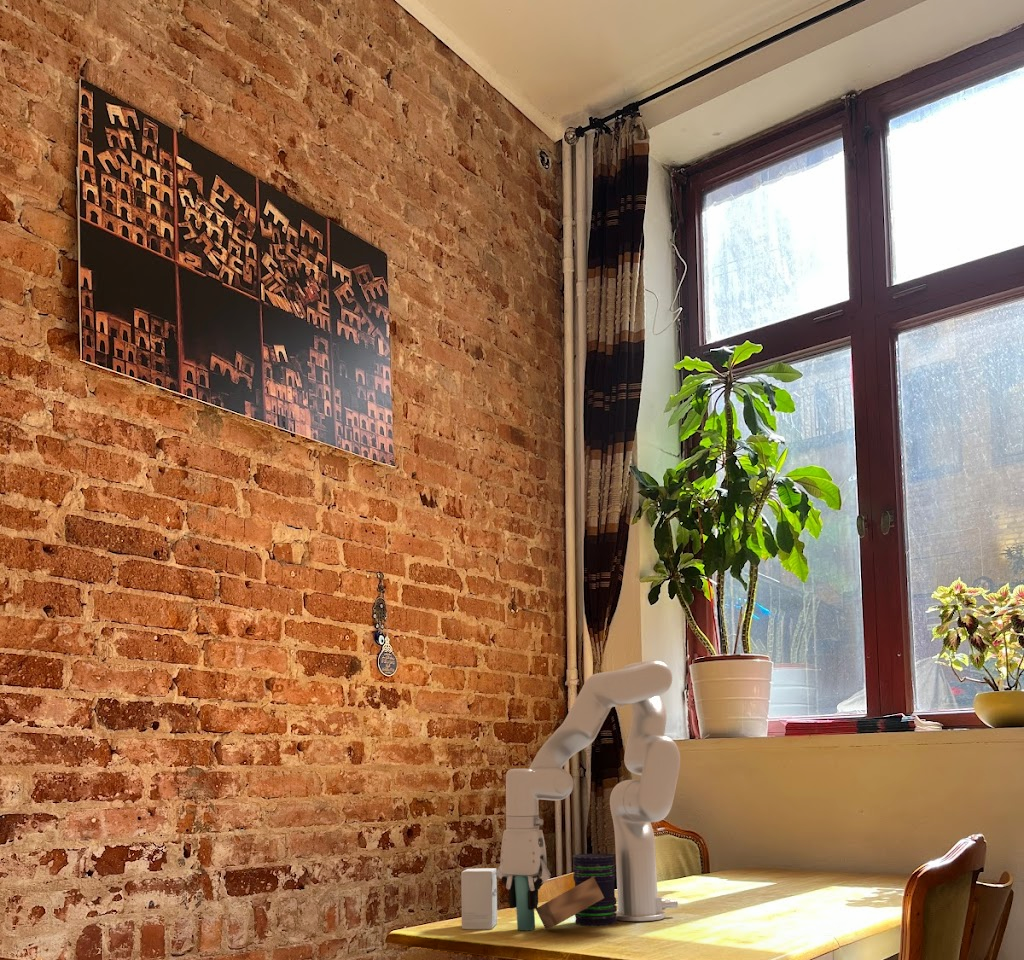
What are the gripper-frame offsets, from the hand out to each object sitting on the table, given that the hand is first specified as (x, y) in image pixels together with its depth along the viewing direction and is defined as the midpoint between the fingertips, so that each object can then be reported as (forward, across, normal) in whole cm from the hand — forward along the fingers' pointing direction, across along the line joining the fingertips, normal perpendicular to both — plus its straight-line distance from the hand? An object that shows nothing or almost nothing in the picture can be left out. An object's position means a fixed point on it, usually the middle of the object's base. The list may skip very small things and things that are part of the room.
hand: (523, 907), depth 255 cm
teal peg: (+5, 0, -1) cm, 5 cm away
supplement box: (+5, +12, 0) cm, 13 cm away
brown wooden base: (+1, -12, -2) cm, 12 cm away
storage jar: (+5, -11, -15) cm, 19 cm away
